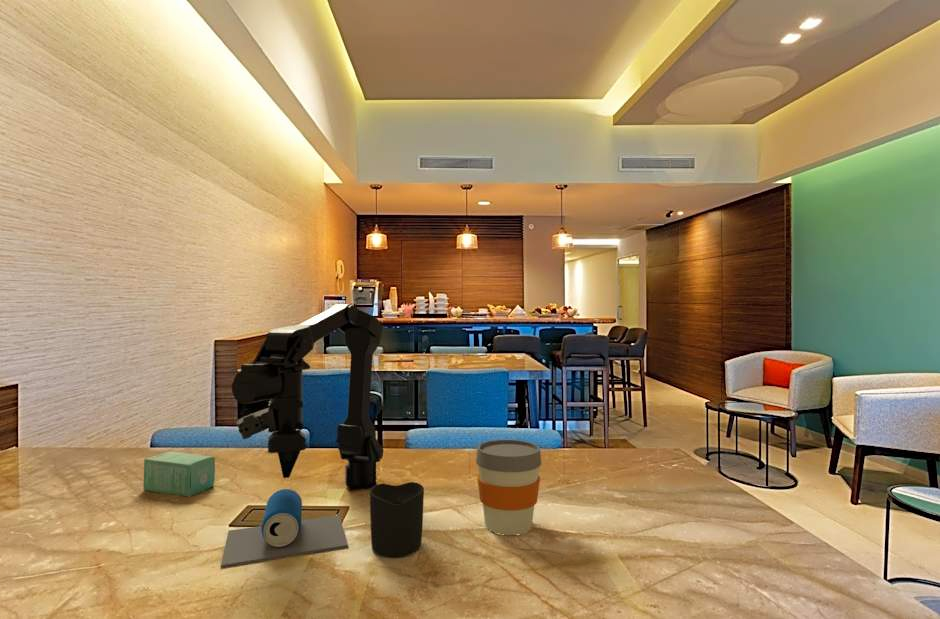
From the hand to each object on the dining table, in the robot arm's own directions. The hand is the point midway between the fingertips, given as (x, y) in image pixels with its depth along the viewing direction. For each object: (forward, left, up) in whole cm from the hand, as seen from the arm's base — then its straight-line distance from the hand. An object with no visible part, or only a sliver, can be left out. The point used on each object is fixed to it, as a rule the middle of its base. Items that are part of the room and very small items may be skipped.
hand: (286, 477), depth 96 cm
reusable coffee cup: (-40, +14, -10) cm, 44 cm away
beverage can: (0, -2, -6) cm, 6 cm away
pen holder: (-18, +15, -10) cm, 25 cm away
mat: (0, +6, -10) cm, 11 cm away
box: (+23, -30, -10) cm, 39 cm away
